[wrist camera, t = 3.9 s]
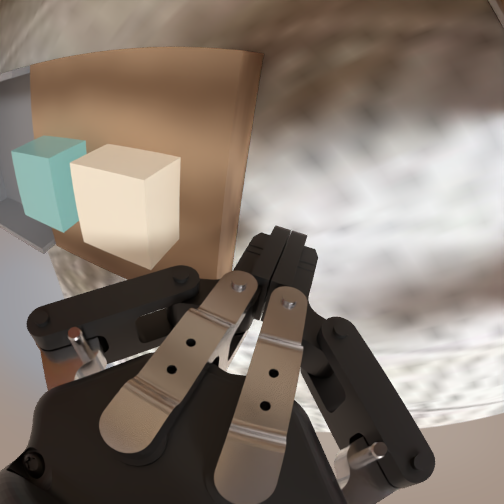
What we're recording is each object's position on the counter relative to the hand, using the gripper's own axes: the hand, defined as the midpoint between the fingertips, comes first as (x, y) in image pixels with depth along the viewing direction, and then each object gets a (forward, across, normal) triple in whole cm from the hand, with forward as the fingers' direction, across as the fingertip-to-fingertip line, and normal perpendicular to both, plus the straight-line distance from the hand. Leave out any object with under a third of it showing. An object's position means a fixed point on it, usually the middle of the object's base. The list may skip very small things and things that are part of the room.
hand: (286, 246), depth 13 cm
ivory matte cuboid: (+1, +9, 0) cm, 9 cm away
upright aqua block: (+1, +16, 0) cm, 16 cm away
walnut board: (+4, +12, 0) cm, 12 cm away
